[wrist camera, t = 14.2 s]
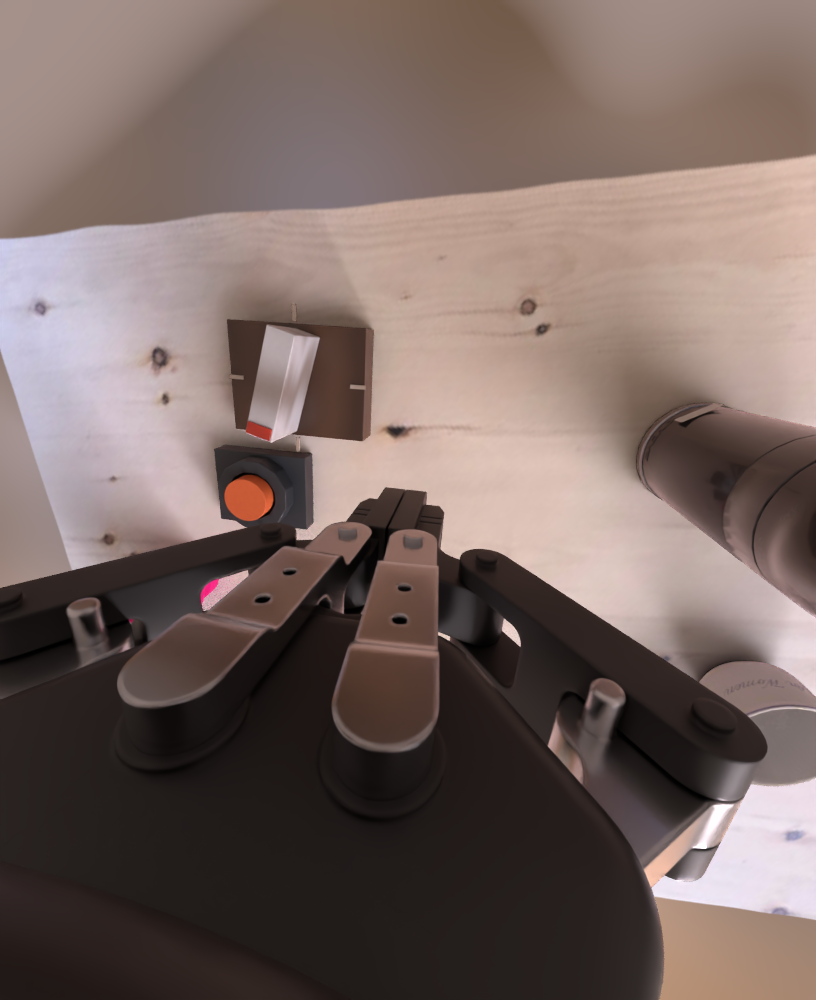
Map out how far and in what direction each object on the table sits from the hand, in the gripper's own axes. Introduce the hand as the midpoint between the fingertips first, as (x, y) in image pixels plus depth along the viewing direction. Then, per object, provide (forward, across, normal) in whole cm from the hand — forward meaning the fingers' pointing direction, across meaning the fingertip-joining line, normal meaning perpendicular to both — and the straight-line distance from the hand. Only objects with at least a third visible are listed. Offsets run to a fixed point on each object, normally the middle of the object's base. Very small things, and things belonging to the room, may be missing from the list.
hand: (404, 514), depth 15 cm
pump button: (+23, +19, +10) cm, 32 cm away
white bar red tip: (+24, +14, -2) cm, 28 cm away
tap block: (+27, +14, -2) cm, 31 cm away
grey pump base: (+27, +19, +10) cm, 34 cm away
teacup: (+27, -33, +27) cm, 50 cm away
